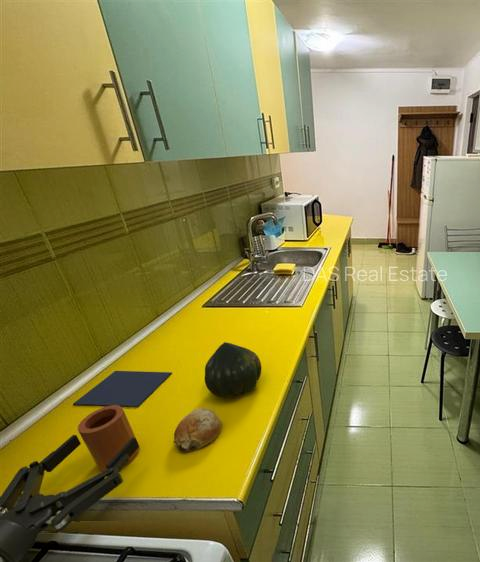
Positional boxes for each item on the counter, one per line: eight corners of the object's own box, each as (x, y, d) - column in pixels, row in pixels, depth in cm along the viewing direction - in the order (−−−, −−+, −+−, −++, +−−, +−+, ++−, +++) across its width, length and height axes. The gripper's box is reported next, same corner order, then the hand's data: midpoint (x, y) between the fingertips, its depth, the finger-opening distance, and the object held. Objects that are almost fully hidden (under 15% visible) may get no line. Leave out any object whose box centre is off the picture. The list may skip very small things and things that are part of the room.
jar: (90, 471, 66) (67, 432, 62) (118, 442, 73) (100, 404, 69) (122, 473, 66) (101, 433, 61) (147, 443, 73) (131, 405, 68)
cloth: (73, 405, 84) (72, 403, 84) (115, 371, 97) (115, 370, 97) (138, 407, 83) (137, 406, 83) (172, 373, 96) (171, 372, 96)
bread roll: (227, 444, 76) (233, 413, 76) (185, 462, 67) (192, 427, 67) (203, 428, 81) (209, 398, 81) (162, 442, 72) (169, 409, 72)
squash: (245, 396, 79) (250, 338, 84) (188, 399, 79) (196, 341, 84) (265, 394, 93) (268, 345, 97) (217, 397, 93) (222, 347, 97)
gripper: (-74, 568, 49) (60, 450, 68) (70, 579, 47) (165, 455, 67) (-104, 541, 46) (45, 425, 65) (50, 552, 44) (155, 430, 64)
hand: (106, 440), depth 66 cm, fingers open, 13 cm apart
